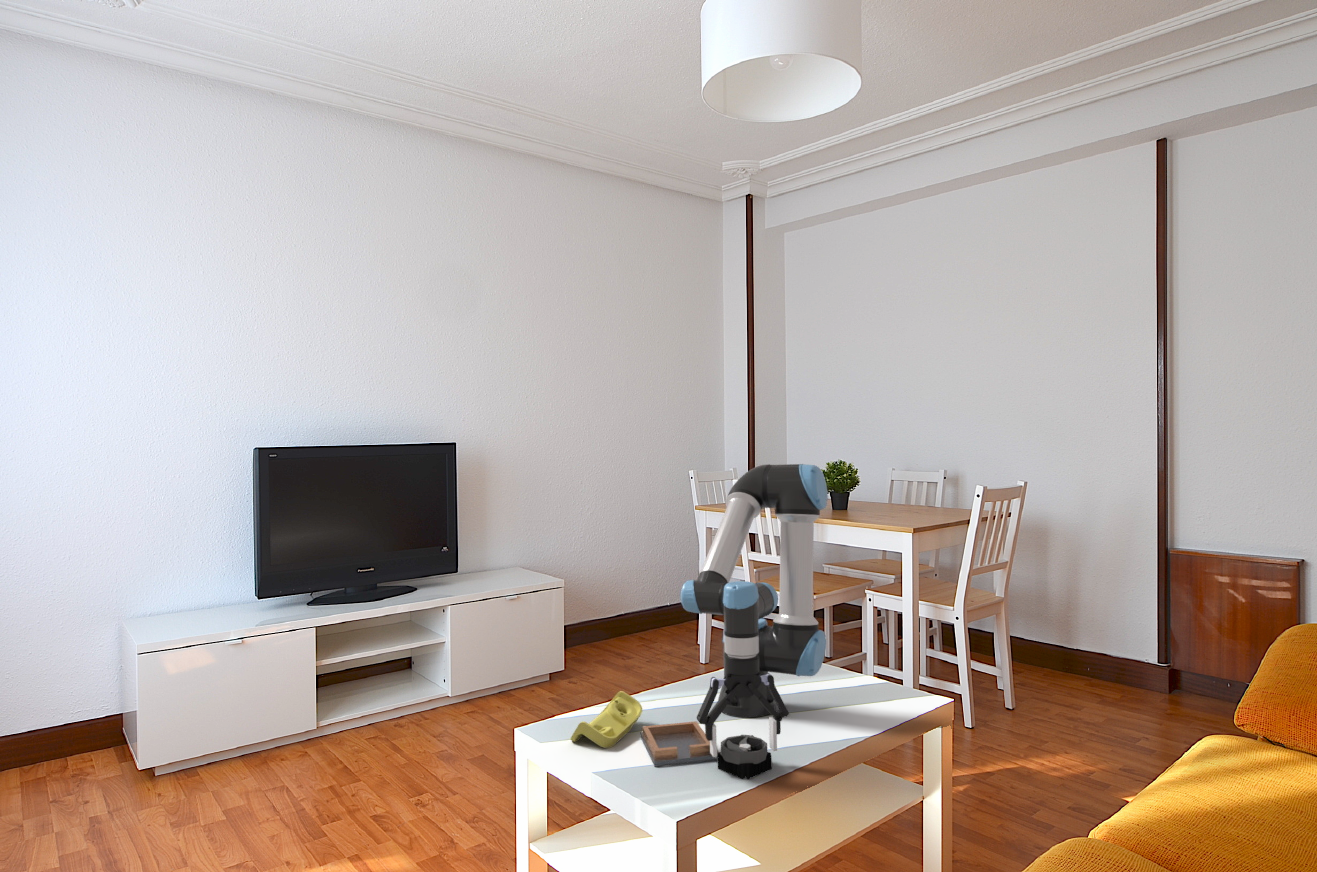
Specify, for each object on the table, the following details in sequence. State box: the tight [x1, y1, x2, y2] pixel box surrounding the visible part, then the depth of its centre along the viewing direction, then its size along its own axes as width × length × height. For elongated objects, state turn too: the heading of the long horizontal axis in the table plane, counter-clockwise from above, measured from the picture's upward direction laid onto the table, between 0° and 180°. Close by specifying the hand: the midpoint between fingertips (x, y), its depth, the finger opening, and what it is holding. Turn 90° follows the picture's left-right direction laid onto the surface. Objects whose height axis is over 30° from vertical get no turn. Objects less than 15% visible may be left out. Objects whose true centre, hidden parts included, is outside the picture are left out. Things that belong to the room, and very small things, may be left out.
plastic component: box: [570, 690, 643, 749], centre depth 197 cm, size 20×7×10 cm
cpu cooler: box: [716, 734, 773, 780], centre depth 174 cm, size 10×6×10 cm
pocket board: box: [639, 720, 717, 768], centre depth 186 cm, size 14×18×3 cm
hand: (743, 751), depth 174 cm, fingers open, 13 cm apart
